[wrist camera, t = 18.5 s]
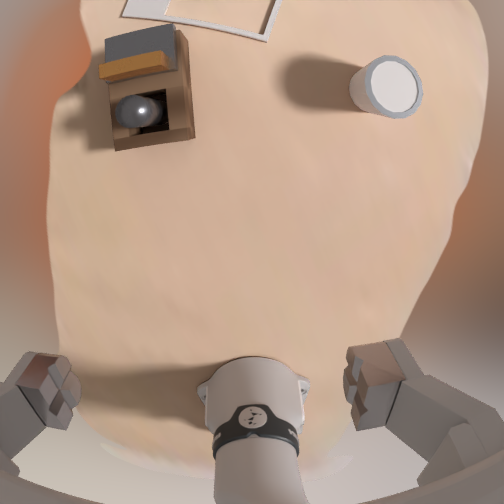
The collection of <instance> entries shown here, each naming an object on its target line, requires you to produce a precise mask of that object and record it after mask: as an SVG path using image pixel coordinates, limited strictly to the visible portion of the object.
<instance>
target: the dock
mask: <svg viewBox="0 0 504 504" xmlns="http://www.w3.org/2000/svg"><path fill="white" fill-rule="evenodd" d="M176 43H177V60H178V71H173V72H167V73H162V74H156V75H151V76H146V77H141V78H136V79H131V80H127V81H123V82H118V83H114V84H109V96H110V108H111V119H112V129H113V138H114V146H115V151H120V150H126V149H132V148H137V147H144V146H150V145H156V144H163V143H170V142H178V141H186V140H190V139H193V138H195V127H194V116H193V104H192V91H191V78H190V64H189V49H188V40H187V39H186V37H185V36H184V35H183V33H182V32H181V31H180V30H176ZM163 94H166V96H167V108H168V119H169V130H166V131H159V132H153V133H147V134H143V127H136V128H126V127H123V126H122V125H120V124H119V123H118V121H117V119H116V115H115V110H116V107H117V104H118V103H119V101H120V100H121V99H122V98H124V97H126V96H128V95H138V96H142V97H152V96H158V95H163Z"/></svg>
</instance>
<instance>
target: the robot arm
mask: <svg viewBox="0 0 504 504" xmlns="http://www.w3.org/2000/svg"><path fill="white" fill-rule="evenodd" d="M346 360H347V362H348V366H347V367H346V368H345V369H344V375H343V388H344V393H345V397H346V400H347V402H349V403H350V404H352V409H351V416H352V419H353V422H354V425H355V428H356V431H360V430H365V429H371V428H376V427H381V426H386V428H387V429H388V430H390V431H391V432H392V433H393V434H394V435H396V436H397V437H398V438H399V439H401V440H402V441H403V442H404V443H405V444H407V445H408V446H409V447H410V448H412V449H413V450H414V451H415V452H417V453H418V454H419V455H420V456H421V457H423V458H424V459H425V460H426V461H428V462H429V463H428V464H427V465H426V467H425V468H424V470H423V471H422V472H421V474H420V475H419V477H418V478H417V482H418V485H419V487H416V488H413V489H410V490H408V491H404V492H401V493H397V494H394V495H391V496H387V497H384V498H380V499H376V500H372V501H368V502H363V503H359V504H504V422H503V420H502V419H501V417H500V416H499V414H498V413H497V411H496V409H495V408H493V407H491V406H489V405H487V404H485V403H483V402H481V401H479V400H477V399H475V398H473V397H471V396H469V395H467V394H465V393H463V392H462V391H460V390H457V389H456V388H454V387H452V386H450V385H448V384H446V383H444V382H442V381H440V380H438V379H436V378H435V377H433V376H431V375H426V376H425V375H424V374H423V372H422V371H421V369H420V367H419V366H418V364H417V362H416V361H415V359H414V357H413V356H412V354H411V353H410V351H409V350H408V348H407V346H406V345H405V343H404V342H403V340H402V339H400V338H396V339H391V340H386V341H383V342H376V343H370V344H364V345H358V346H351V347H348V350H347V354H346ZM71 366H72V365H71V364H70V362H69V360H68V358H67V357H65V356H63V355H54V354H46V353H36V352H27V353H25V354H24V355H23V357H22V358H21V359H20V361H19V362H18V363H17V365H16V366H15V367H14V369H13V370H12V372H11V373H10V374H9V376H8V377H7V379H6V380H5V382H4V383H2V382H0V504H103V503H98V502H94V501H90V500H86V499H82V498H79V497H75V496H72V495H68V494H65V493H62V492H58V491H55V490H52V489H49V488H46V487H44V486H41V485H37V484H35V483H33V482H30V481H27V480H25V479H22V478H20V477H18V475H19V472H20V470H19V467H18V466H17V465H16V464H15V463H14V462H13V461H11V459H12V458H13V457H14V456H15V455H17V454H18V453H19V452H20V451H21V450H22V449H23V448H24V447H25V446H26V445H28V444H29V443H30V442H31V441H32V440H33V439H34V438H35V437H36V436H37V435H39V434H40V433H41V432H42V431H43V430H44V429H45V428H46V427H45V426H47V427H52V428H56V429H62V430H67V428H68V426H69V423H70V421H71V419H72V417H73V412H72V408H74V407H75V406H77V405H78V403H79V401H80V399H81V390H82V389H81V384H80V381H79V379H78V377H77V376H76V375H75V374H74V373H73V372H72V371H70V370H71ZM309 389H310V381H309V379H307V378H305V377H302V376H299V375H296V374H295V373H294V372H293V371H292V370H291V369H289V368H288V367H287V366H286V365H284V364H282V363H280V362H278V361H275V360H272V359H268V358H261V357H248V358H241V359H237V360H234V361H231V362H229V363H227V364H225V365H223V366H222V367H220V368H219V369H218V370H217V371H216V372H215V373H214V374H213V376H212V377H211V378H210V379H209V380H208V381H206V382H204V383H202V384H201V385H199V386H198V387H197V394H198V396H199V397H200V399H201V401H202V402H203V404H204V406H205V425H206V426H207V427H208V429H209V430H210V432H211V433H212V434H213V435H214V438H213V443H212V450H213V457H214V459H215V461H216V462H215V482H214V499H215V502H216V504H309V502H308V500H307V498H306V496H305V493H304V489H303V486H302V481H301V477H300V472H299V467H298V460H297V457H298V455H299V439H298V436H297V434H301V433H302V429H303V426H302V425H304V409H303V405H304V402H305V399H306V397H307V394H308V391H309Z"/></svg>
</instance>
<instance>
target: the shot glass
mask: <svg viewBox="0 0 504 504" xmlns="http://www.w3.org/2000/svg"><path fill="white" fill-rule="evenodd" d="M349 92H350V97H351V98H352V100H353V102H354V104H355V105H356V106H358V107H359V108H360V109H361V110H363V111H366V112H368V113H372V114H377V115H381V116H385V117H390V118H394V119H395V118H406V117H408V116H410V115H412V114H414V113H415V112H416V110H417V109H418V107H419V106H420V105H421V101H422V96H423V89H422V82H421V79H420V77H419V75H418V74H417V72H416V70H415V69H414V68H413V67H412V66H411V65H410V64H409V63H408V62H407V61H406V60H404V59H401V58H399V57H397V56H387V55H384V56H382V57H379V58H377V59H375V60H373V61H372V62H370V63H369V64H368V65H366V66H365V67H363V68H362V69H360V70H359V71H358V72H356V73H355V74H354V76H353V77H352V78H351V80H350V84H349Z"/></svg>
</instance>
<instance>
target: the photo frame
mask: <svg viewBox="0 0 504 504" xmlns="http://www.w3.org/2000/svg"><path fill="white" fill-rule="evenodd" d="M170 1H171V0H128V2H127V5H126V7H125V10H124V12H123V15H122V16H123V17H129V18H141V19H151V20H160V21H167V22H174V23H181V24H187V25H193V26H199V27H204V28H209V29H214V30H219V31H224V32H228V33H232V34H237V35H241V36H245V37H249V38H252V39H256V40H260V41H263V42H268V39H269V36H270V33H271V30H272V27H273V24H274V22H275V19H276V16H277V13H278V11H279V8H280V5H281V2H282V0H276V2H275V4H274V7H273V10H272V12H271V15H270V18H269V21H268V23H267V26H266V29H265V32H264V35H261V34H257V33H253V32H250V31H246V30H242V29H237V28H233V27H229V26H224V25H220V24H215V23H210V22H204V21H199V20H193V19H187V18H180V17H173V16H166V15H165V14H166V11H167V9H168V6H169V4H170Z"/></svg>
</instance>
